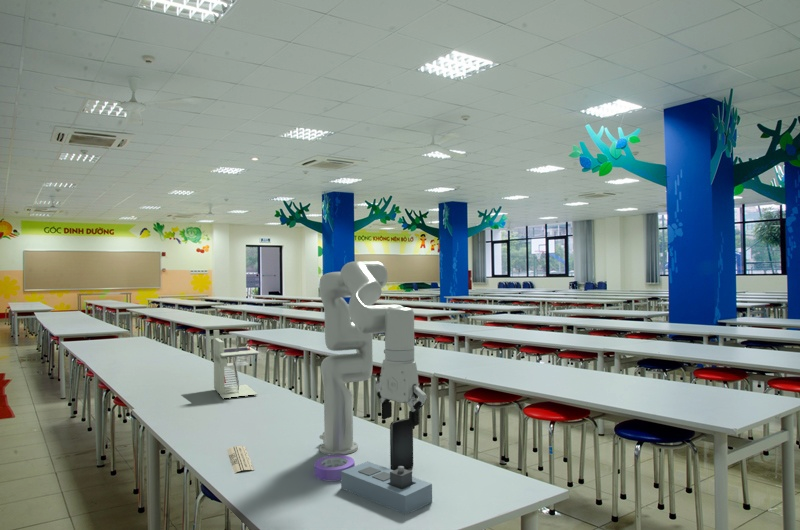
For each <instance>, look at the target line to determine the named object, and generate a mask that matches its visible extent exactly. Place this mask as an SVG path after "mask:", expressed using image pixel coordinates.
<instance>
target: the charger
mask: <svg viewBox="0 0 800 530" xmlns="http://www.w3.org/2000/svg"><path fill="white" fill-rule="evenodd" d="M412 477H413V471H412V470H410V469H408V470H406V469H404V466H398V469H396V470H394V471H391V472H390V485H391V486H394V487H397V488H399V489H404V488H407V487H409V486H411V485H412Z"/></svg>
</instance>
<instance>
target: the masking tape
mask: <svg viewBox="0 0 800 530" xmlns="http://www.w3.org/2000/svg"><path fill="white" fill-rule="evenodd" d="M354 466H356V465H355V459H354V458H353V457H351V456H348V455H327V456H324V457H321V458H319V459H317V460H316V461H315V462H314V476H315V477H316V478H317V479H319V480H322V481H327V482H329V481H330V482H331V481H332V482H334V481H341V471H343V470H346V469H349V468H351V467H354Z"/></svg>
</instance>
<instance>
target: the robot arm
mask: <svg viewBox="0 0 800 530" xmlns="http://www.w3.org/2000/svg"><path fill="white" fill-rule="evenodd" d="M388 278H389V275H388V271H387V268H386V266H385V265H384V264H383V263H382V262H380V261H377V260H374V261H373V260H371V261H369V260H367V261H363V260H360V261H359V260H357V261H355V260H354V261H349V262H347V263H345V264H344V265H343V266H342V268H341V270H340V271H332V272H331V271H330V272H328V273H324V274H323V275H322V276H321V277H320V280H319V285H318V286H319V288H318V289H319V295H320V298H321V303H322V304H323V309H324V341H325V346H326V348H327V349H328V350H330V351H333V352H335V351H336V352H340V351H341V352H342V351H352V350H356V353H342V354H334V355H333V354H332V355H329V356H327V357H325V358H323V360H322V362H321V363H320V373H321V379H322V385H323V408H324V409H323V410H324V412H323V414H324V416H323V417H324V419H323V423H324V424H323V426H324V432H322V434H320V435H319V439H320V440H322V441H323V443H322V444H321V445H320V446H319V451H320V453H322V452H323V453H322V454H324V453H325V455H327V454H330V455H329V456H333V455H344V456H347V455H350V454H352V453H355V452H356V451H357V450H358V449H359V448H358V447H359V444H358V443H357V442H355V441H354V423H353V422H354V418H353V417H354V412H353V411H354V409H353V408H354V407H353V406H354V405H353V399H354V398H353V394H352V393H351V391H350V389H349V388H348V386H346V384H348V383H355V382H363V381H367V380H368V381H369V379H370V378H371V377H372V375H373V368H374V367H373V363H374V362H373V334H383V333H384V345H385V346H384V347H385V348H384V349H383V354H384V359H383V360H382V362H381V363H382V365H381V369H380V377H379V378H380V380H379V382H377V383H376V384H375V385H374V387H375V391H376V395H377V398H378V399H379V403H380V405H381V420H387V419H389V418H392V416H393V414H392V412H393V410H392V409H393V408H392V406H393V405H392V404H393V403H392V402H397V403H401V404H407V406H408V407H409V409H410V410H409V411H408V418H409V427H413V428H414V427H416V426H419V425H420V410H421V409H422V407H424V406H425V402H426V400H427V398H428V395H427V394H426V392H424V391H423V390H422V389H421V388H420V386H419V373H418V367H417V366H418V365H417V363H416V361H415V312H414V310H413V309H412V308H410V307H406V306H403V305H400V304H394V303H393V304H375V303H376V302H378V300H379V299H380V297H381V295H382V289H384V287H385V286H386V284H387V282H388ZM345 298H349V301H348V302H347V301H346V300H345Z"/></svg>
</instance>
